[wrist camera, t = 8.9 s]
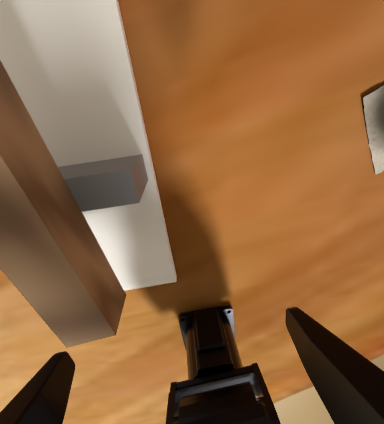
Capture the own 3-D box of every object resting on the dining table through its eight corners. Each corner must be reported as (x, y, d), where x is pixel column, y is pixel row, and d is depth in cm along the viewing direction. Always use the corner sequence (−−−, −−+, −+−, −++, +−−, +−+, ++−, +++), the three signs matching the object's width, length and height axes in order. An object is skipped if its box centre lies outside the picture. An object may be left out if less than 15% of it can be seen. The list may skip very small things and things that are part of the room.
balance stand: (176, 275, 22) (178, 326, 16) (73, 292, 22) (40, 350, 16) (108, -44, 12) (54, -183, 6) (-86, -19, 12) (-318, -143, 6)
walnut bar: (126, 294, 15) (115, 335, 12) (86, 305, 15) (66, 347, 12) (-31, 2, 8) (-138, -59, 5) (-104, 24, 8) (-247, -26, 5)
